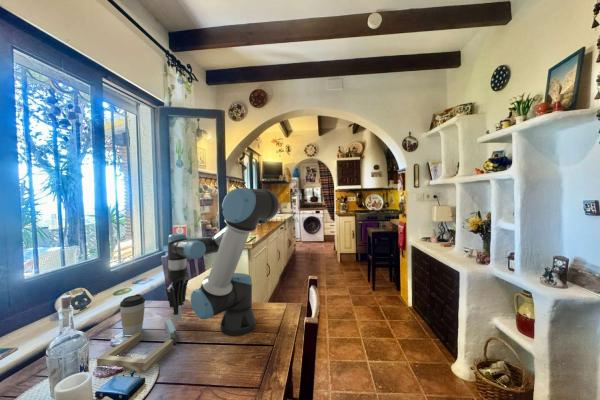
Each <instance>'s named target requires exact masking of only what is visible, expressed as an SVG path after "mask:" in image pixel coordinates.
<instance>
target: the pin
mask: <svg viewBox="0 0 600 400" xmlns="http://www.w3.org/2000/svg"><path fill="white" fill-rule="evenodd" d="M172 340H173V347H174V346H176V345H177V330H176V331H172Z"/></svg>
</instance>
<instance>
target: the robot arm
mask: <svg viewBox="0 0 600 400" xmlns="http://www.w3.org/2000/svg"><path fill="white" fill-rule="evenodd" d="M221 209H222V211H221V212H222V215H223V217H224V222H225V224H226V226H225V227H223V228H222V229H221V230H219V231H218V232H217V233H216V234H214V235H212V236H209V237H204V238H203V237H202V238H195V239H188V237H187V234H186V233H172V234H169V235H168V237H167V239H168V240H167V257H168V258H167V259H168V270H167V273H168V274H167V276H168V279H170V281H169V286H168V287H165V291H166V294H167V298H168V304H169V305H168V306H169V308H173V321H174V322H181V321H182V311H183V309H182V307H183V306H184V305H185V302H186V295H187V289H188V284H189V283H188V282H189V279H186V276H187V275H188V272H187V271H188V269H187V266H188V265H187V263H188V261H187V258H188V259H191V260H194V259H197V260H198V259H200V258H202V257H203V256H206V255H210V254H216V255H215V258H214V261H213V264H212V267H211V269H210V273H209V275H207V276H206V277H204V278H203V280H202V282H201V285H200V287H199V288H195V289H194V290H192V292H191V294H190V304H191V309H192V310H193V312H194V314H195V316H196V317H197V318H199V319H200V320H208V319H211V318H213V317H215V316H217V315H219V314H222V313H223V315H222V319H221V321H220V331H221V333H222V334H225V335H227V336H241V335H246V334H248V333H251V332H252V331H253V330H254V329H255V328H256V325H257V323H256V317H255V313H254V310H253V306H252V305H253V304H252V303H253V301H252V300H253V299H252V298H253V297H252V296H253V294H252V293H253V283H252V277H251V275H250V274H247V273H242V272H236V269H237V267H238V264H239V261H240V259H241V257H242V253H243V251H244V248H245V245H246V243H247V240H248V238H249V235H250V233H252V232H254V231H255V230H256V229H257V226H258V225H262V224H263V225H264V224H266V223H267V222H269V221H270V220H271V219H273V218H274V217H275V216H276V215H277V214H278V212H279V209H280V202H279V198H278V196H277V194H275V192H272V191H271V190H269V189H266V188H265V189H263V188H262V189H261V188H248V187H240V188H238V187H237V188H233V189H232V190H230V191H228V192H227V194H226V195H225V196H224V198H223V201H222V204H221Z"/></svg>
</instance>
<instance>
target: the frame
mask: <svg viewBox="0 0 600 400" xmlns="http://www.w3.org/2000/svg"><path fill="white" fill-rule="evenodd" d="M142 336H143V335H142V332H141V333H139V332H137V333H135V334H134V335H132V336H128V338H126V339H125V340H123V341H121V342H120V343H119V344H117V345H116V346H114V347H112V348H110V349H109V350H108V351H106V352H105V353H103V354H101V355H100V356H98V357H97V358H96V367H97V366H117V367H123V368H124V369H125V370H124V371H126V370H135V371H138V373H146V372H148V371H149V370H150V369H151V368H152V367H153V366H154V365H155V364H156V363H158V362H159V361H160V360H161V359H162V358H163V357H164V356H165V355H167V354H168V353H169V352H170V351H171V350H172V349H173V348H174V346H173V340H171V339H169V338H168V339H167V340H166V341H164V342H163V343H162V344H161V345H159V346H158V347H157V348H155V349H154V350H153V351H152V352H151V353H150V354H149V355H147V356H146V357H145V358H138V357H128V356H121V355H122V353H123V354H125V353H126V352H127V351H129V350H130V349H131V348H133V347H134V346H136V345H137V344H139V343H140V342H141V341H142ZM120 354H121V355H120ZM117 355H120V356H117ZM148 369H149V370H148ZM135 371H134V372H135Z"/></svg>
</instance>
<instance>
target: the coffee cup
mask: <svg viewBox="0 0 600 400" xmlns="http://www.w3.org/2000/svg"><path fill="white" fill-rule="evenodd" d="M145 302H146V299H145V297H143V296H142V294H140V293H137V294H134V295H130V296H126V297H124V298H123V299H122V300H121V301H120V302H119V303H120V304H119V307H120V320H121V321H120V322H121V326H122V335H123V334H124V335H134V334H135V333H137V332H139V333H142V332H143V326H144V317H145Z"/></svg>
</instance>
